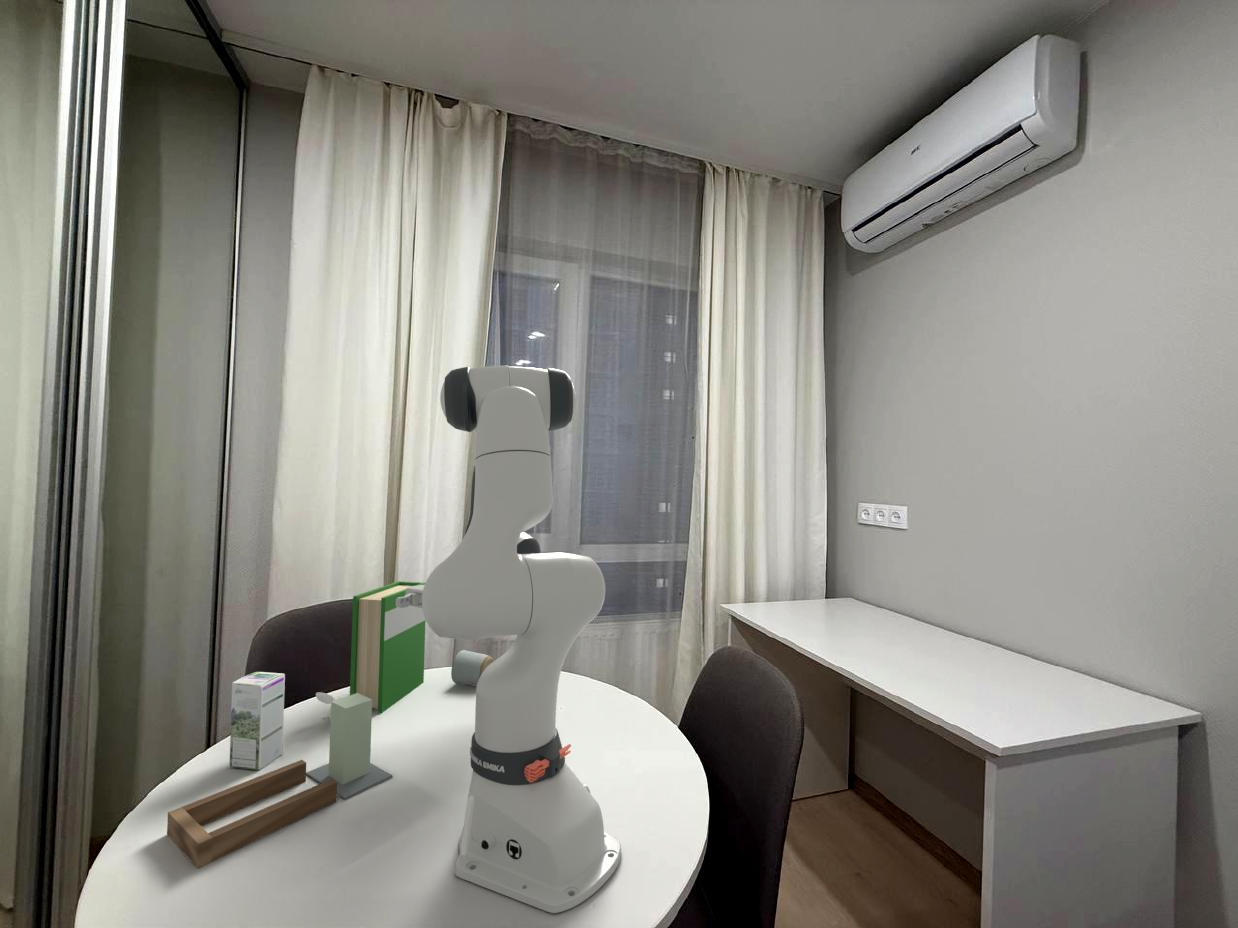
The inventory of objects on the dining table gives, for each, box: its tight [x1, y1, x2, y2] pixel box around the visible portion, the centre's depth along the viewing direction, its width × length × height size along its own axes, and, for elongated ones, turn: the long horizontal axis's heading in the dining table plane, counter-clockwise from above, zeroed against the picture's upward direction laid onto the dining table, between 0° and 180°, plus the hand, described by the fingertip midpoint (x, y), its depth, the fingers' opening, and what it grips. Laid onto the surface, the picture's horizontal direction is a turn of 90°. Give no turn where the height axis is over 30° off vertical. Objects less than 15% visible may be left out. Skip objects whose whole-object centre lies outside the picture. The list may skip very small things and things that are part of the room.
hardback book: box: [349, 581, 426, 714], centre depth 123 cm, size 18×7×24 cm, turn 172°
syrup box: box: [229, 671, 286, 771], centre depth 94 cm, size 6×6×14 cm
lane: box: [166, 759, 338, 869], centre depth 78 cm, size 11×18×3 cm, turn 145°
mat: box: [306, 762, 393, 800], centre depth 90 cm, size 12×8×1 cm, turn 55°
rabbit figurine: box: [315, 692, 342, 721], centre depth 110 cm, size 6×4×8 cm
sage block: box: [328, 693, 373, 785], centre depth 90 cm, size 4×4×12 cm
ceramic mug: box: [450, 649, 495, 687], centre depth 132 cm, size 11×8×8 cm
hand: (413, 606), depth 99 cm, fingers open, 8 cm apart
